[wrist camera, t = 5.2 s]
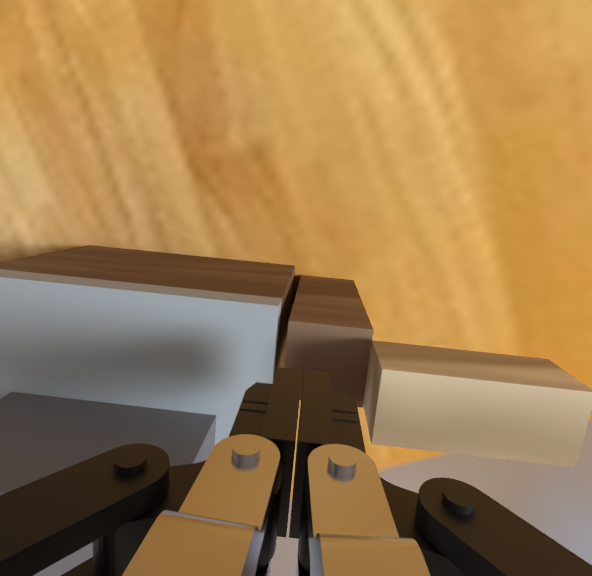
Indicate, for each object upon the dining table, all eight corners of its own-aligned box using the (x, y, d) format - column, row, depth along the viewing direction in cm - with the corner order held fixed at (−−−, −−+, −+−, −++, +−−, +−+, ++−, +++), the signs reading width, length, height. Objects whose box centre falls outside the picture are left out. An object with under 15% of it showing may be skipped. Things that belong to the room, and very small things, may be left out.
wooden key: (371, 340, 14) (382, 369, 12) (548, 359, 14) (595, 392, 12) (363, 403, 15) (371, 443, 12) (533, 422, 15) (576, 467, 12)
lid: (-2, 263, 17) (-227, 306, 10) (284, 292, 17) (257, 359, 10) (14, 510, 20) (-158, 682, 13) (262, 542, 19) (228, 739, 12)
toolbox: (90, 245, 24) (-48, 272, 15) (354, 271, 23) (375, 316, 14) (93, 430, 27) (-24, 548, 18) (331, 459, 26) (336, 595, 17)
